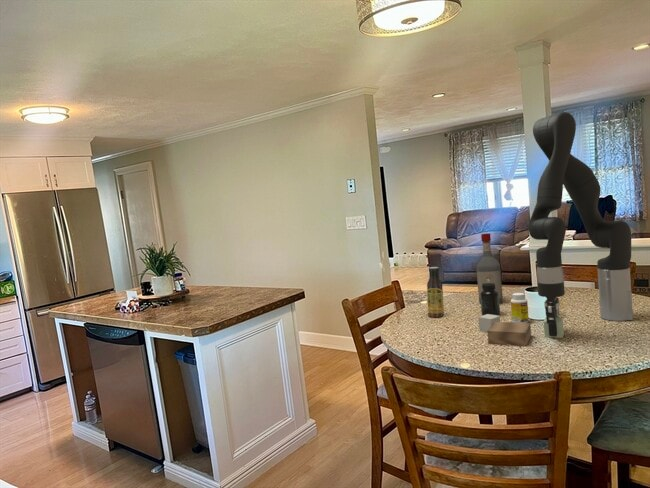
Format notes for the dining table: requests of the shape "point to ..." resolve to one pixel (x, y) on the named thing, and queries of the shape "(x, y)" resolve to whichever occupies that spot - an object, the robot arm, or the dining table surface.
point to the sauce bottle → (435, 294)
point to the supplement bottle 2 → (519, 308)
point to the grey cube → (487, 321)
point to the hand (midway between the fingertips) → (554, 333)
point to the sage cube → (559, 328)
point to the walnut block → (509, 333)
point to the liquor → (488, 268)
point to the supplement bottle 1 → (489, 300)
